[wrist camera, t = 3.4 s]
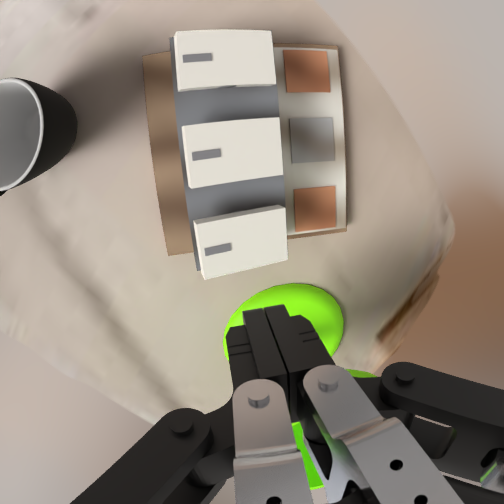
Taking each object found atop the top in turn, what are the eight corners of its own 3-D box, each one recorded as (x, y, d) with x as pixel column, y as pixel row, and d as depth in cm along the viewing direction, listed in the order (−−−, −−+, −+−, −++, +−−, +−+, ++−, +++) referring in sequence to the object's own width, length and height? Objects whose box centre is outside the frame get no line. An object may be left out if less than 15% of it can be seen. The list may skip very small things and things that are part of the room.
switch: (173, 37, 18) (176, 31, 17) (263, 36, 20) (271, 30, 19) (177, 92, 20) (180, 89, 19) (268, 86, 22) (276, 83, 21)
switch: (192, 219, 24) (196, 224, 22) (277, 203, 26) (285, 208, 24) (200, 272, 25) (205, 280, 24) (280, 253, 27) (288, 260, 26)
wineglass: (316, 258, 36) (400, 358, 19) (357, 345, 42) (419, 438, 26) (197, 326, 37) (204, 454, 20) (260, 397, 43) (288, 503, 26)
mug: (50, 73, 23) (0, 57, 14) (105, 119, 27) (65, 116, 17) (-6, 163, 25) (-62, 180, 16) (43, 210, 29) (-6, 242, 19)
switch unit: (144, 59, 25) (131, 42, 19) (332, 49, 27) (360, 34, 21) (169, 250, 33) (163, 277, 27) (341, 227, 35) (368, 247, 29)
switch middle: (180, 126, 21) (184, 125, 20) (270, 118, 23) (279, 117, 22) (187, 185, 23) (191, 188, 21) (275, 172, 25) (283, 174, 23)
